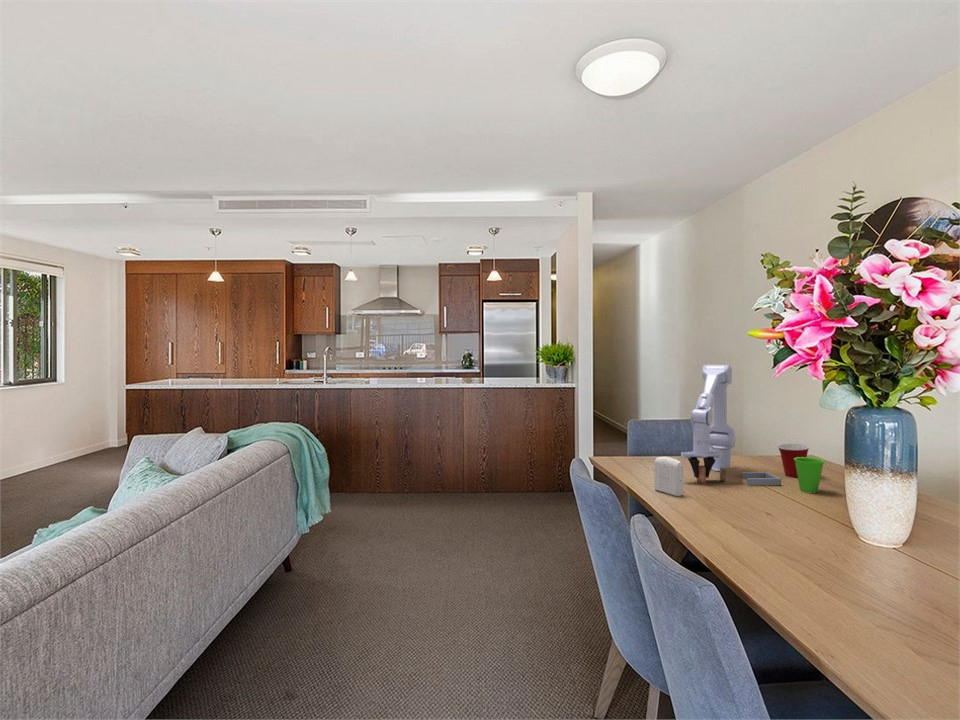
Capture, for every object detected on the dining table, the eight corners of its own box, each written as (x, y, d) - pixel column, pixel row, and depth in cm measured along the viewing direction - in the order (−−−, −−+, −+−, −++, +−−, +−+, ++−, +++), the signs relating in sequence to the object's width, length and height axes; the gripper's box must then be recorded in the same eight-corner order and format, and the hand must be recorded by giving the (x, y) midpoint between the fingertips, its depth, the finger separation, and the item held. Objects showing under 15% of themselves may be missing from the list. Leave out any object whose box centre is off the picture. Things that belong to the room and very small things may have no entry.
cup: (830, 494, 172) (830, 462, 172) (803, 495, 172) (803, 462, 172) (813, 487, 181) (813, 457, 181) (788, 487, 181) (788, 457, 181)
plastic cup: (771, 472, 203) (771, 442, 203) (799, 472, 203) (799, 442, 203) (786, 479, 192) (786, 448, 192) (815, 479, 192) (816, 448, 192)
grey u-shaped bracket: (734, 478, 194) (734, 472, 194) (766, 478, 194) (766, 472, 194) (748, 485, 184) (748, 479, 184) (781, 485, 184) (781, 478, 184)
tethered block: (694, 480, 192) (694, 464, 192) (735, 480, 192) (735, 464, 191) (699, 484, 187) (699, 468, 187) (742, 484, 187) (742, 467, 186)
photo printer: (685, 495, 173) (685, 459, 173) (677, 497, 171) (677, 460, 171) (660, 488, 182) (660, 454, 182) (652, 490, 180) (652, 455, 180)
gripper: (686, 443, 185) (686, 479, 185) (726, 442, 185) (725, 479, 185) (678, 439, 192) (678, 475, 192) (717, 439, 192) (717, 474, 192)
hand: (701, 477), depth 189 cm, fingers closed on tethered block, 3 cm apart
